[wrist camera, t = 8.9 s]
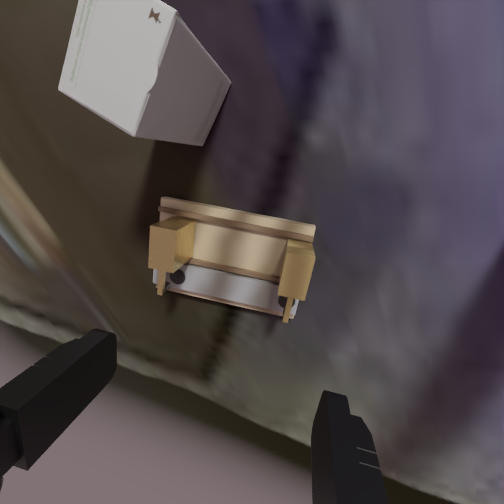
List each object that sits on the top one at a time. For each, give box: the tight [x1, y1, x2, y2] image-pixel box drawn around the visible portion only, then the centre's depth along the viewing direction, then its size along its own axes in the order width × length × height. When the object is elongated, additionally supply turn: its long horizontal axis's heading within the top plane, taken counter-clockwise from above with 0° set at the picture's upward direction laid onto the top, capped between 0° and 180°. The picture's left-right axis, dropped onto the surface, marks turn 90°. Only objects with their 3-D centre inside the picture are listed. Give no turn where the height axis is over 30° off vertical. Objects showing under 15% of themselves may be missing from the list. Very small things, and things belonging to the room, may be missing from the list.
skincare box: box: [58, 0, 231, 146], centre depth 24 cm, size 8×7×16 cm
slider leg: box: [148, 216, 196, 295], centre depth 33 cm, size 3×8×6 cm, turn 170°
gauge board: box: [153, 197, 316, 323], centre depth 33 cm, size 20×13×8 cm, turn 80°
